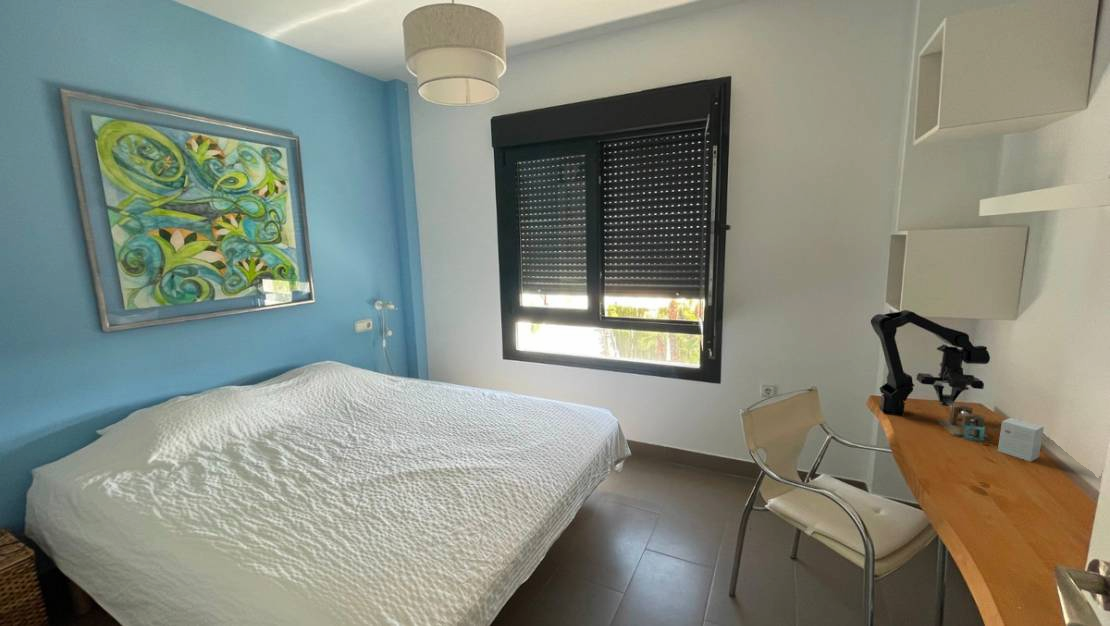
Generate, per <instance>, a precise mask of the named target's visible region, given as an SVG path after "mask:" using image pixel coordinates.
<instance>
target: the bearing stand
mask: <svg viewBox="0 0 1110 626" xmlns="http://www.w3.org/2000/svg"><path fill="white" fill-rule="evenodd" d="M959 409H963V410H965V411H966V412H967V413H963V416H962V418H961V420H958V417H959V413H958V412H959ZM973 411H974V410H973V407H972V406H971V405H963V404H961V405H960V404H957V405H953V404H952V407H951V412H950V419H943V418H937V420H938V421H937V423H939V422H940V423H939V425H941V424H942V425H943V426H944V427H943V426H942V425H941V426H942V427H943V429H945V430H946V429H947V430H946V431H947V432H948V431H949V432H948V433H949V434H950V433H951V434H952V435H953V437H959V436H960V437H961V438H963V431H964V425H965V424H969V425H978V426H984V422H985V416H984V415H982V414H979V413H978V414H977V413H973ZM970 418H975V419H976V420H977V422H976V423H974V424H972V423H970V422H969V421H970ZM978 432H979V430H977V429H969V436H976V437H978ZM951 434H950V435H951ZM952 435H951V436H952ZM983 440H985V441H990V440H991V437H990V436H989V435H988V434H987V433H985V432H984V437H983Z"/></svg>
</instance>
